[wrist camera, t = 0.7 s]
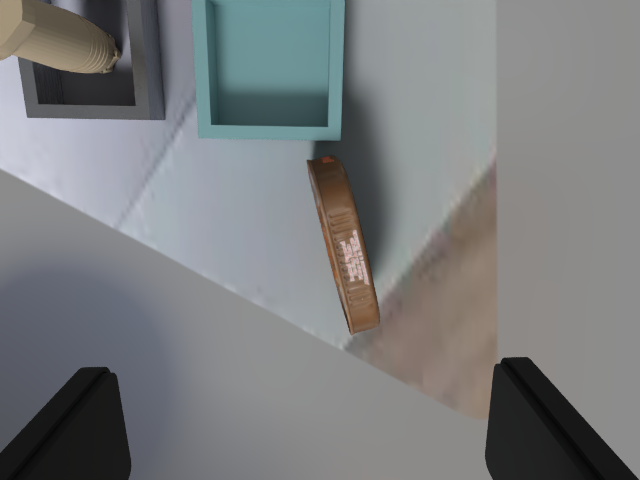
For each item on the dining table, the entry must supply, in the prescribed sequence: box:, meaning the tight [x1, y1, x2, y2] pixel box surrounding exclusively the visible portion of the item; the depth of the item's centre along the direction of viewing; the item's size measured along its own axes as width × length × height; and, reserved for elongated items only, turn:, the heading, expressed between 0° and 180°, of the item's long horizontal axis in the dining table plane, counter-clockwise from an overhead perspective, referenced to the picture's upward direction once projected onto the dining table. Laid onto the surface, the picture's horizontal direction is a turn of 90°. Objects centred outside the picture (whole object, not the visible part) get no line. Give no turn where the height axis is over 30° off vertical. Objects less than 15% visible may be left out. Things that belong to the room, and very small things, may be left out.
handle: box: [0, 0, 121, 73], centre depth 28 cm, size 5×6×15 cm
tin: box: [307, 156, 380, 335], centre depth 36 cm, size 15×3×8 cm, turn 14°
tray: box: [191, 0, 345, 141], centre depth 34 cm, size 11×11×4 cm
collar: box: [18, 0, 165, 120], centre depth 34 cm, size 10×9×4 cm
